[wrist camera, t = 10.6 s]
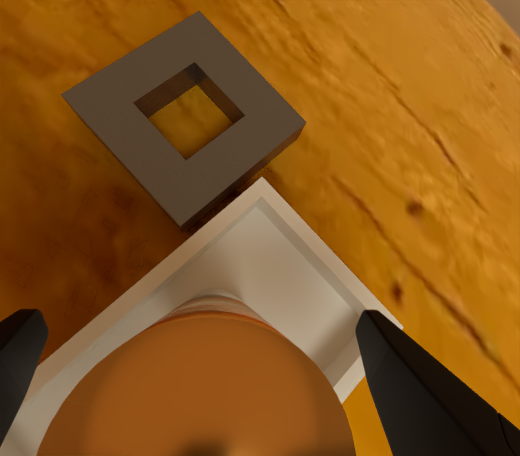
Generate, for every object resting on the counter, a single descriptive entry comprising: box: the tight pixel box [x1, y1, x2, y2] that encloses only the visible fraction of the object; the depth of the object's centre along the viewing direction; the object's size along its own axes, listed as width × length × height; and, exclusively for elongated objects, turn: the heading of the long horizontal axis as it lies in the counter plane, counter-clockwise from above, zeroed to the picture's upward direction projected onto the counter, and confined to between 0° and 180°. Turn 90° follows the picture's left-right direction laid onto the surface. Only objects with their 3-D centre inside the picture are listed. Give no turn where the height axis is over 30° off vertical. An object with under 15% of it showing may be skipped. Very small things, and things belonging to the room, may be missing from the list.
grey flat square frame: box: [61, 11, 306, 233], centre depth 18 cm, size 10×10×2 cm
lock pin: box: [36, 288, 356, 456], centre depth 10 cm, size 4×4×13 cm
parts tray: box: [0, 177, 404, 456], centre depth 15 cm, size 11×18×3 cm, turn 133°
